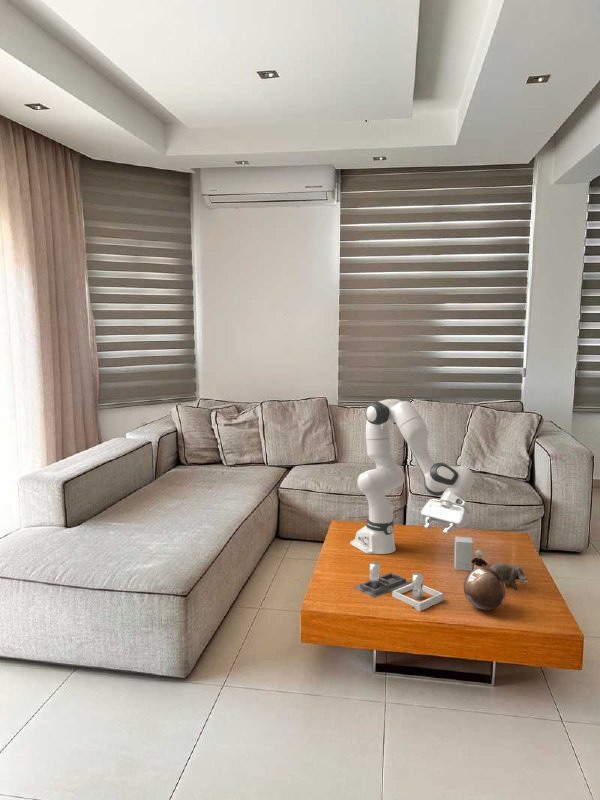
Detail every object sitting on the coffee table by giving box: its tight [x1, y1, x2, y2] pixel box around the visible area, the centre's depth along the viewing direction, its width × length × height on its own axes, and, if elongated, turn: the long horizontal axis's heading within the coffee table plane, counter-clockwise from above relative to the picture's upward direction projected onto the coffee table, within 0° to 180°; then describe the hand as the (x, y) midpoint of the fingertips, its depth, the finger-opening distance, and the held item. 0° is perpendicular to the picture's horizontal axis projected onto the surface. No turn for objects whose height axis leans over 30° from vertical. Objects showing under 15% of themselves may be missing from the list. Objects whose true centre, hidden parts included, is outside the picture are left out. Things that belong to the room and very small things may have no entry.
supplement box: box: [453, 536, 474, 572], centre depth 261 cm, size 7×7×13 cm
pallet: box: [353, 572, 413, 599], centre depth 242 cm, size 12×22×2 cm, turn 129°
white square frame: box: [391, 583, 444, 612], centre depth 230 cm, size 14×14×3 cm
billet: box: [411, 572, 424, 601], centre depth 230 cm, size 4×4×10 cm
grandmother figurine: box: [470, 549, 490, 570], centre depth 248 cm, size 8×4×13 cm, turn 68°
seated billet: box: [369, 561, 381, 589], centre depth 238 cm, size 4×4×10 cm
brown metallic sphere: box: [463, 567, 507, 611], centre depth 223 cm, size 15×15×15 cm
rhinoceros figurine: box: [489, 562, 530, 591], centre depth 242 cm, size 8×14×15 cm
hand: (435, 531), depth 239 cm, fingers open, 8 cm apart
